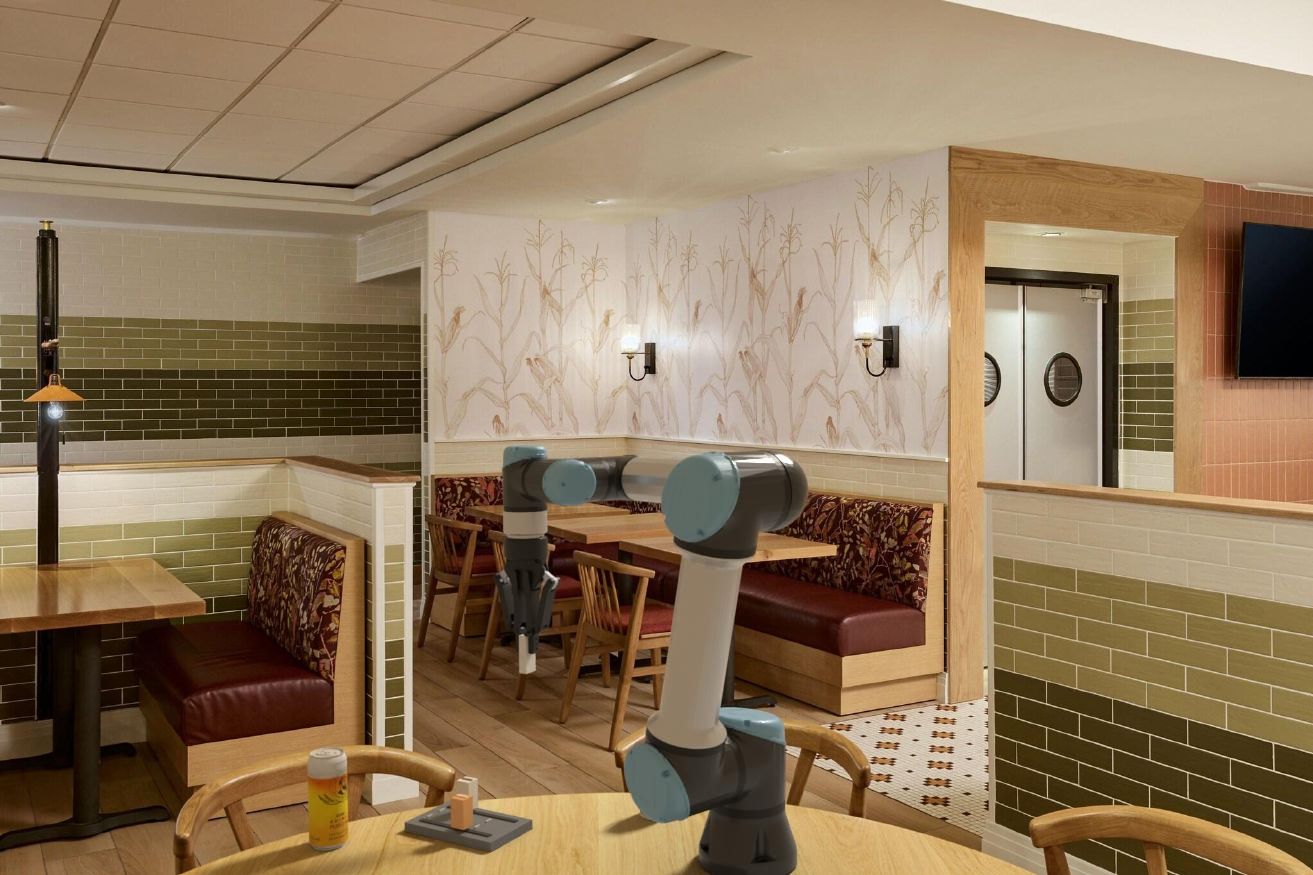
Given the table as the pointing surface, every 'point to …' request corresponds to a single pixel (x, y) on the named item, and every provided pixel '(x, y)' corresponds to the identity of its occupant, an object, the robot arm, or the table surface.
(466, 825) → the orange fader
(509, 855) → the table surface
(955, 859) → the table surface
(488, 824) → the console
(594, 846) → the table surface
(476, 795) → the cream fader
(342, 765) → the beer can
